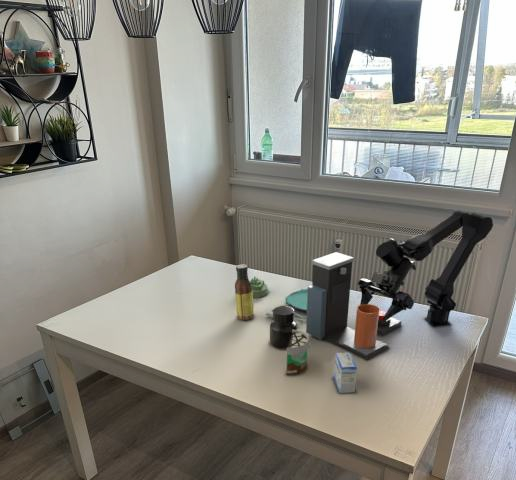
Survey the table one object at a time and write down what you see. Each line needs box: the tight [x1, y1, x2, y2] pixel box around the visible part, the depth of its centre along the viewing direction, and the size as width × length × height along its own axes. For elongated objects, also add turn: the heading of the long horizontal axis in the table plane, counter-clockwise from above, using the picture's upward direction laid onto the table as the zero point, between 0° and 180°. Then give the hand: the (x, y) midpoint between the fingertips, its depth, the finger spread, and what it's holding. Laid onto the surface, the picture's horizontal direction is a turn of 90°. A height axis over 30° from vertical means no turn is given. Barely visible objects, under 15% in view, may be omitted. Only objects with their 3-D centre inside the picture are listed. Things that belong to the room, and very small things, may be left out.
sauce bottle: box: [234, 263, 255, 321], centre depth 174 cm, size 7×6×20 cm
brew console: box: [377, 316, 402, 337], centre depth 170 cm, size 11×10×4 cm
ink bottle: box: [269, 305, 298, 350], centre depth 159 cm, size 10×9×12 cm
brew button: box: [378, 310, 387, 320], centre depth 169 cm, size 4×4×2 cm
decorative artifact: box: [249, 275, 269, 299], centre depth 197 cm, size 10×7×10 cm
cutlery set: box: [264, 288, 308, 326], centre depth 184 cm, size 20×30×2 cm, turn 136°
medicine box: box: [333, 352, 358, 394], centre depth 138 cm, size 8×4×9 cm, turn 5°
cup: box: [354, 303, 380, 349], centre depth 155 cm, size 7×7×12 cm
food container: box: [285, 329, 311, 376], centre depth 146 cm, size 12×6×10 cm, turn 168°
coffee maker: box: [305, 251, 390, 361], centre depth 156 cm, size 14×25×26 cm, turn 41°
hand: (371, 316), depth 154 cm, fingers open, 9 cm apart
